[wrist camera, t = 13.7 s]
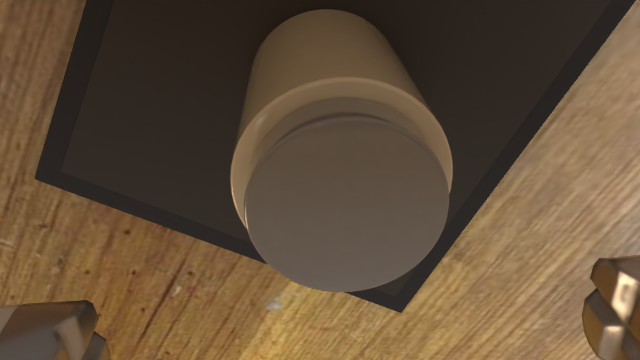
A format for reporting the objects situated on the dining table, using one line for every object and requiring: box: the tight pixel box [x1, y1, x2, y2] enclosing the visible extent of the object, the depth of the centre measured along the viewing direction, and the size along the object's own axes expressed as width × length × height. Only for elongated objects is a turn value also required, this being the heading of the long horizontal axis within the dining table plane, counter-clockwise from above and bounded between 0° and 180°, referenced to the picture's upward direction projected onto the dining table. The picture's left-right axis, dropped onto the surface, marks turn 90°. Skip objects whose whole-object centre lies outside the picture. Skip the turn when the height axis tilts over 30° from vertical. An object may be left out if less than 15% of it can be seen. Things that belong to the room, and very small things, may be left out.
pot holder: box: [35, 0, 636, 313], centre depth 19 cm, size 16×16×1 cm
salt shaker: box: [230, 9, 453, 292], centre depth 15 cm, size 5×5×8 cm
